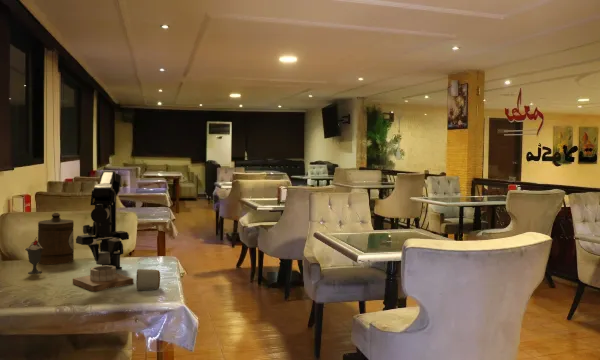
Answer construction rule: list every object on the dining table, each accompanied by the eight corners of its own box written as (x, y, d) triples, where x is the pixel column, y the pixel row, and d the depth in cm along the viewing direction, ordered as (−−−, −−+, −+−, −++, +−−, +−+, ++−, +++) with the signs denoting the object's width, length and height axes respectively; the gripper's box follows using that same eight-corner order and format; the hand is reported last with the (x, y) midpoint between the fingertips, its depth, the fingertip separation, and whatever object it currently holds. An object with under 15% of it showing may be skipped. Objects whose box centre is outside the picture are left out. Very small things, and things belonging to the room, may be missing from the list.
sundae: (36, 275, 210) (36, 238, 209) (21, 274, 211) (21, 237, 210) (47, 271, 216) (47, 235, 215) (33, 270, 217) (33, 234, 217)
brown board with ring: (111, 276, 210) (111, 261, 210) (133, 283, 200) (133, 268, 199) (72, 283, 198) (72, 267, 198) (93, 291, 188) (93, 275, 187)
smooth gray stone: (105, 261, 202) (105, 251, 202) (112, 263, 199) (112, 253, 198) (93, 263, 198) (93, 252, 198) (100, 265, 195) (100, 254, 195)
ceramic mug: (160, 291, 190) (160, 270, 190) (137, 292, 187) (137, 271, 187) (157, 284, 200) (157, 264, 200) (135, 286, 197) (135, 265, 197)
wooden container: (79, 261, 237) (79, 213, 236) (46, 266, 226) (45, 215, 225) (64, 256, 247) (64, 210, 246) (32, 260, 236) (31, 212, 235)
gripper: (114, 215, 210) (114, 253, 211) (68, 219, 196) (69, 260, 197) (129, 218, 202) (129, 257, 203) (83, 222, 188) (83, 265, 189)
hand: (103, 260), depth 198 cm, fingers closed on smooth gray stone, 5 cm apart
